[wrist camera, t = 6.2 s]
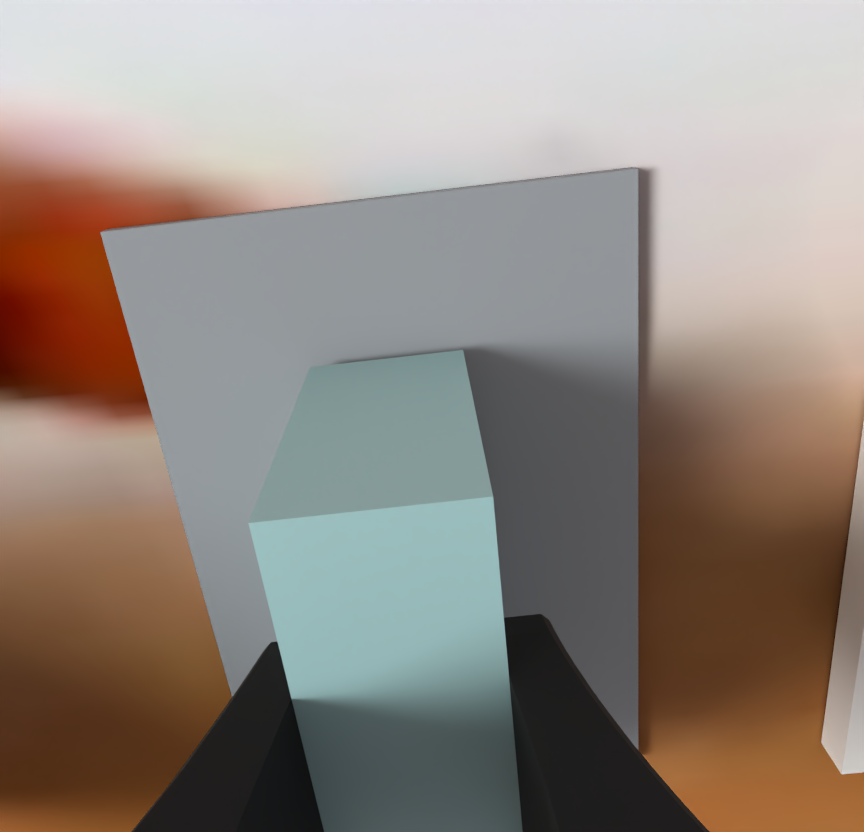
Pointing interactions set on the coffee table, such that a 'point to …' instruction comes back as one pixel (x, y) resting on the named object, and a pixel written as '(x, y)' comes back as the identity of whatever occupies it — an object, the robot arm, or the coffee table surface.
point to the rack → (849, 650)
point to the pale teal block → (391, 599)
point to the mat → (406, 336)
